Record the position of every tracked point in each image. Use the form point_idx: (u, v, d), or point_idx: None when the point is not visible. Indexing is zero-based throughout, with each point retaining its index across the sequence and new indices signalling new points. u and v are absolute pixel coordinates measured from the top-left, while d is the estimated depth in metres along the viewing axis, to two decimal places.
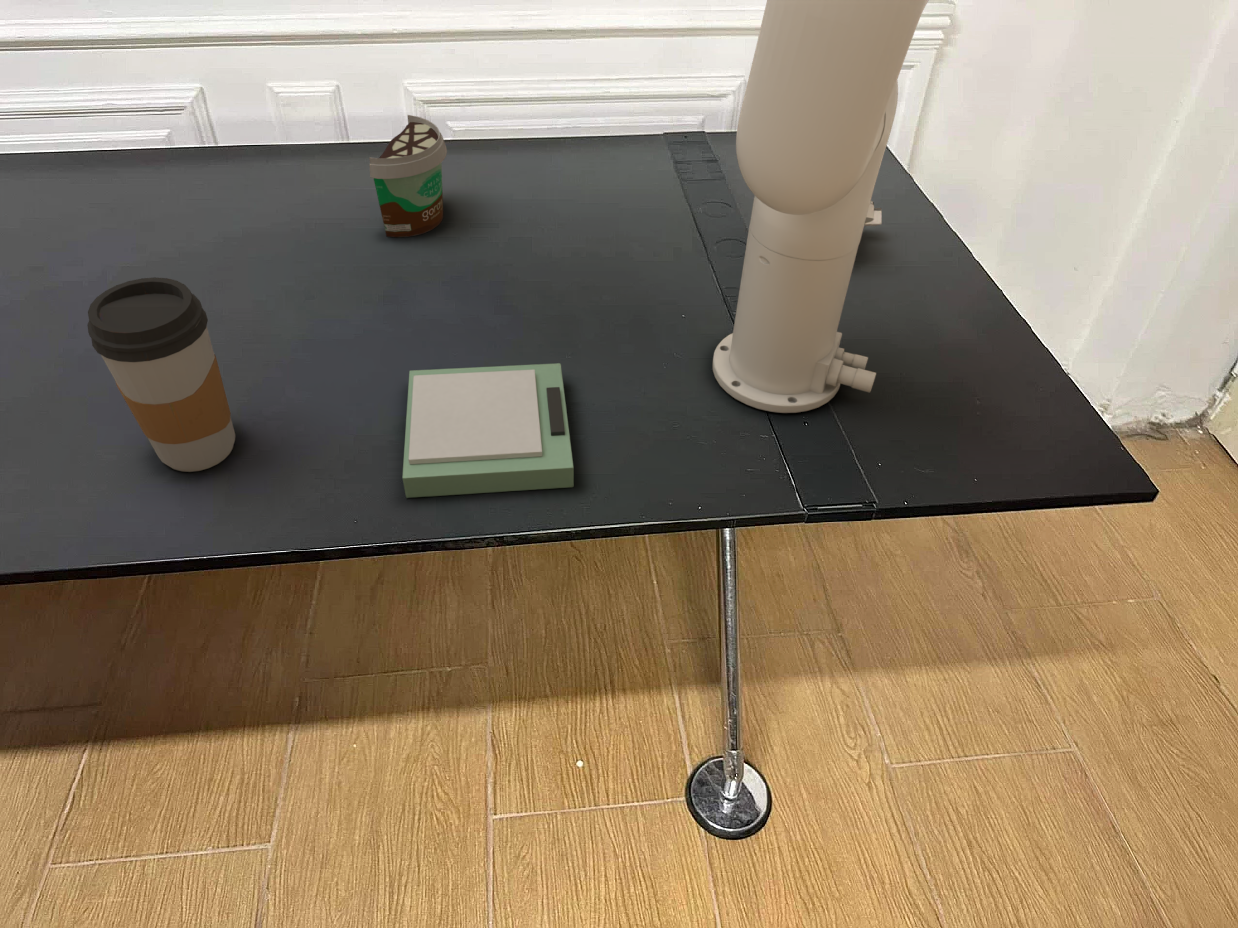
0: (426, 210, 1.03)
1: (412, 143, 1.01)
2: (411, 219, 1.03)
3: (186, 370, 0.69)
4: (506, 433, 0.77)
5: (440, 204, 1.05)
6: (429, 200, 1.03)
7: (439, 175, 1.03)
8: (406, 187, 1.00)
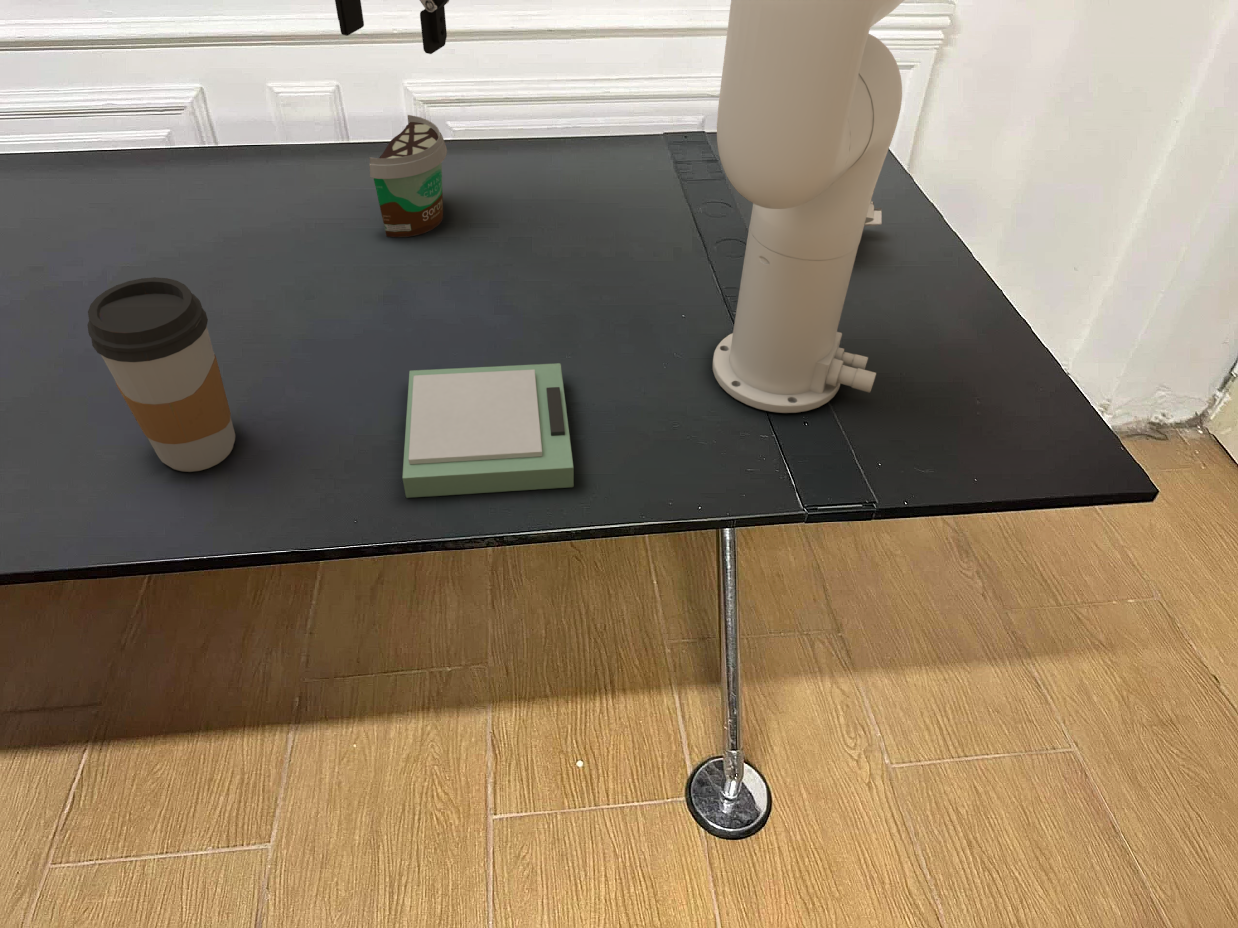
0: (426, 210, 1.03)
1: (413, 143, 1.01)
2: (411, 219, 1.03)
3: (186, 370, 0.69)
4: (506, 433, 0.77)
5: (440, 204, 1.05)
6: (429, 200, 1.03)
7: (439, 175, 1.03)
8: (407, 187, 1.00)
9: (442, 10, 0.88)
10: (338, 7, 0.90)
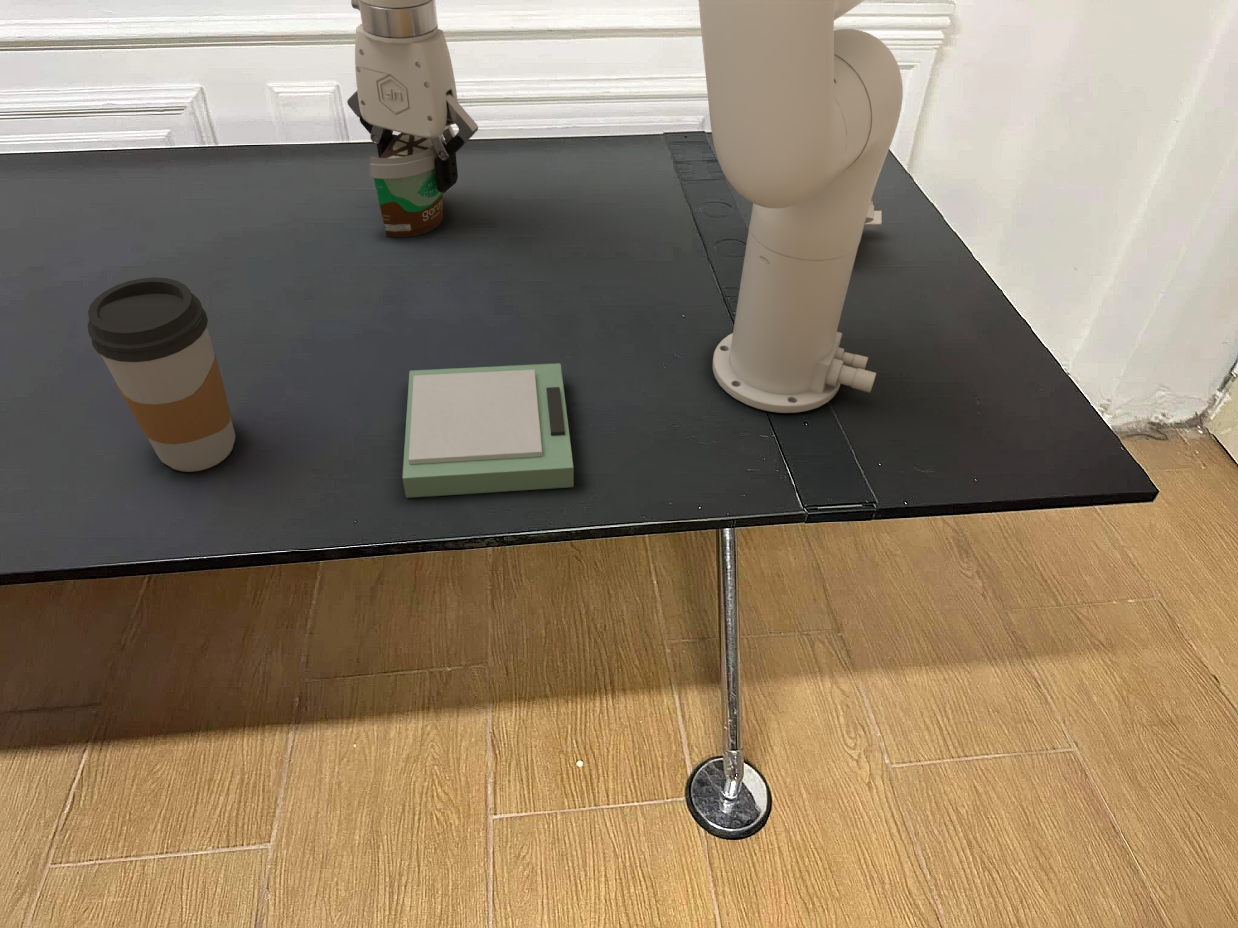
0: (426, 210, 1.03)
1: (413, 143, 1.01)
2: (411, 219, 1.03)
3: (186, 370, 0.69)
4: (506, 433, 0.77)
5: (440, 204, 1.05)
6: (429, 200, 1.03)
7: None
8: (407, 187, 1.00)
9: (454, 156, 1.00)
10: None
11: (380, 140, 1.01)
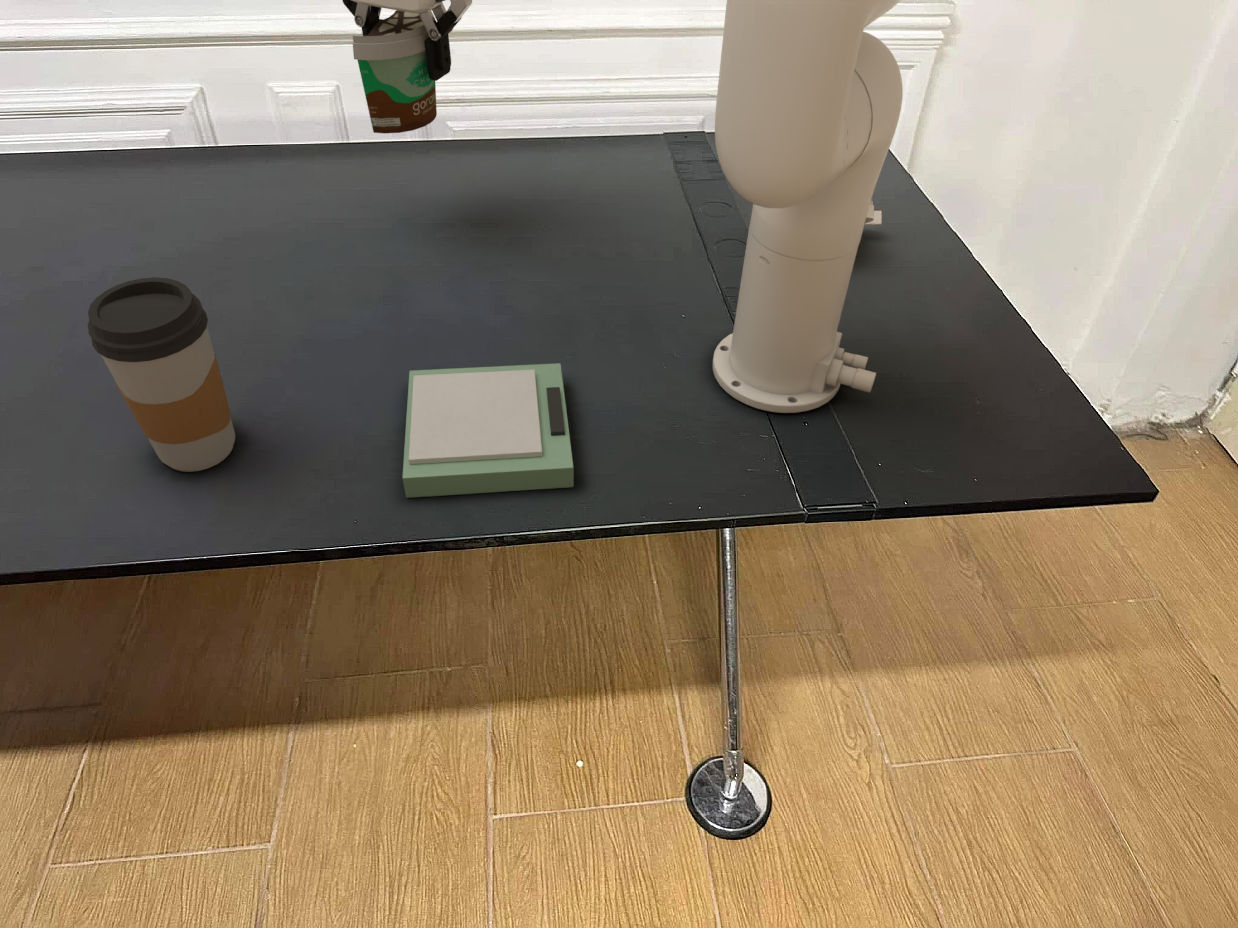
0: (417, 102, 0.93)
1: (401, 26, 0.91)
2: (400, 112, 0.93)
3: (186, 370, 0.69)
4: (506, 433, 0.77)
5: (433, 98, 0.96)
6: (420, 91, 0.93)
7: None
8: (394, 72, 0.90)
9: (446, 38, 0.90)
10: None
11: (365, 23, 0.91)
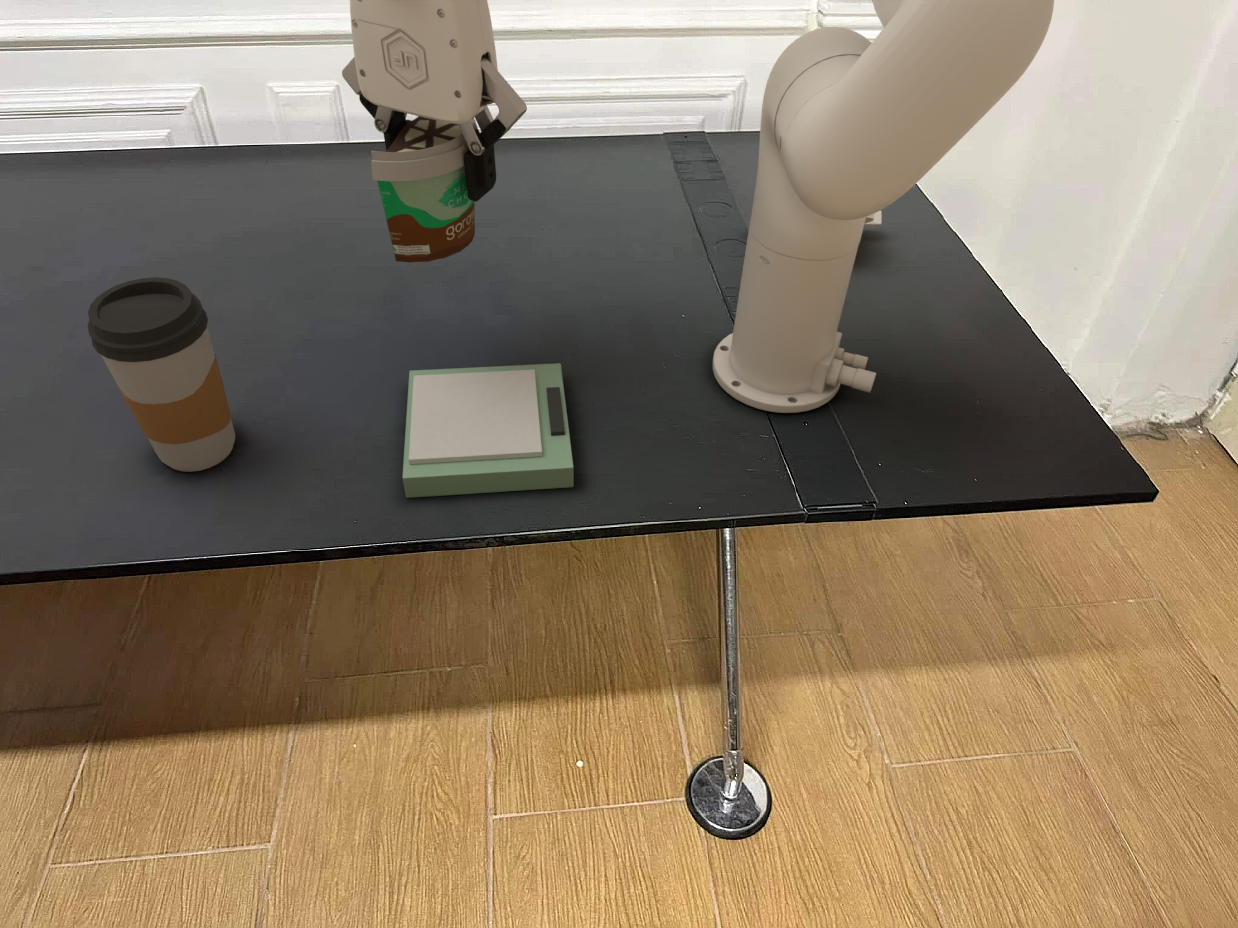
0: (451, 225, 0.74)
1: (434, 131, 0.72)
2: (430, 238, 0.73)
3: (186, 370, 0.69)
4: (506, 433, 0.77)
5: (471, 217, 0.76)
6: (455, 212, 0.73)
7: None
8: (424, 193, 0.70)
9: (491, 150, 0.70)
10: None
11: (388, 127, 0.71)
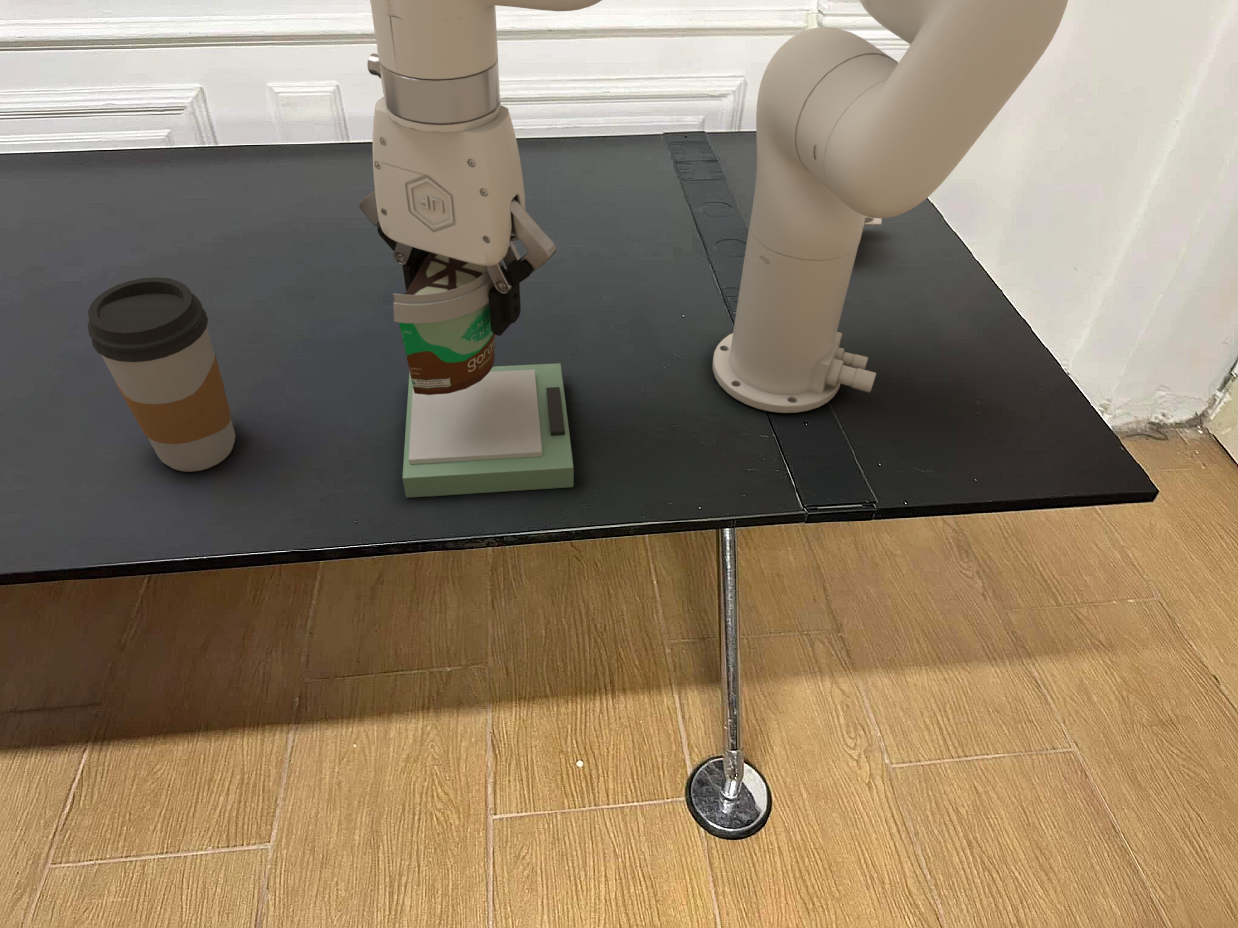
0: (473, 357, 0.71)
1: (456, 263, 0.69)
2: (451, 372, 0.70)
3: (186, 370, 0.69)
4: (506, 433, 0.77)
5: (492, 345, 0.73)
6: (477, 344, 0.70)
7: None
8: (447, 331, 0.67)
9: (516, 285, 0.68)
10: (408, 282, 0.69)
11: (408, 260, 0.68)
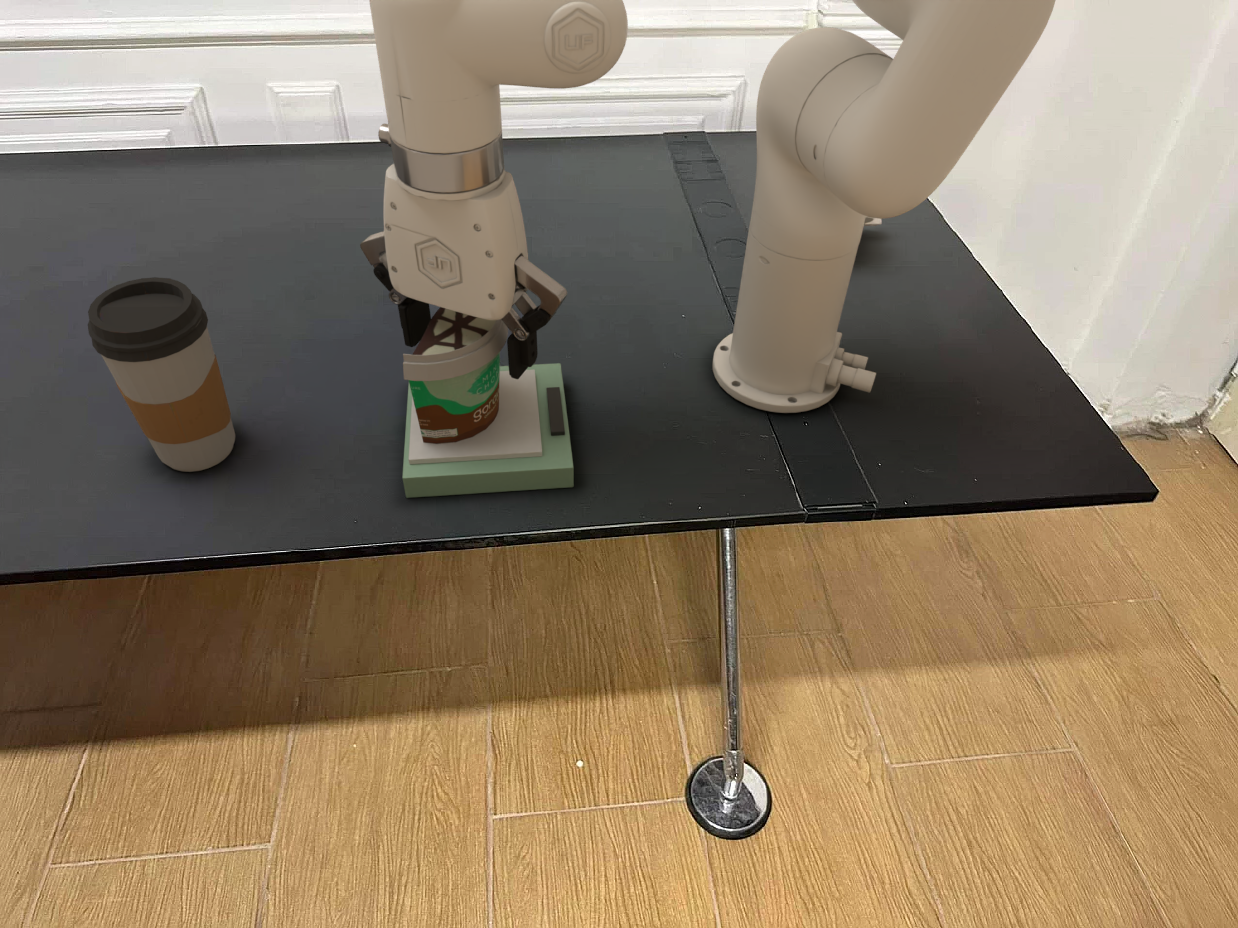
0: (479, 408, 0.75)
1: (461, 321, 0.72)
2: (458, 423, 0.74)
3: (186, 370, 0.69)
4: (506, 433, 0.77)
5: (497, 395, 0.77)
6: (483, 396, 0.74)
7: (497, 361, 0.74)
8: (454, 386, 0.71)
9: (534, 331, 0.70)
10: (403, 320, 0.72)
11: None
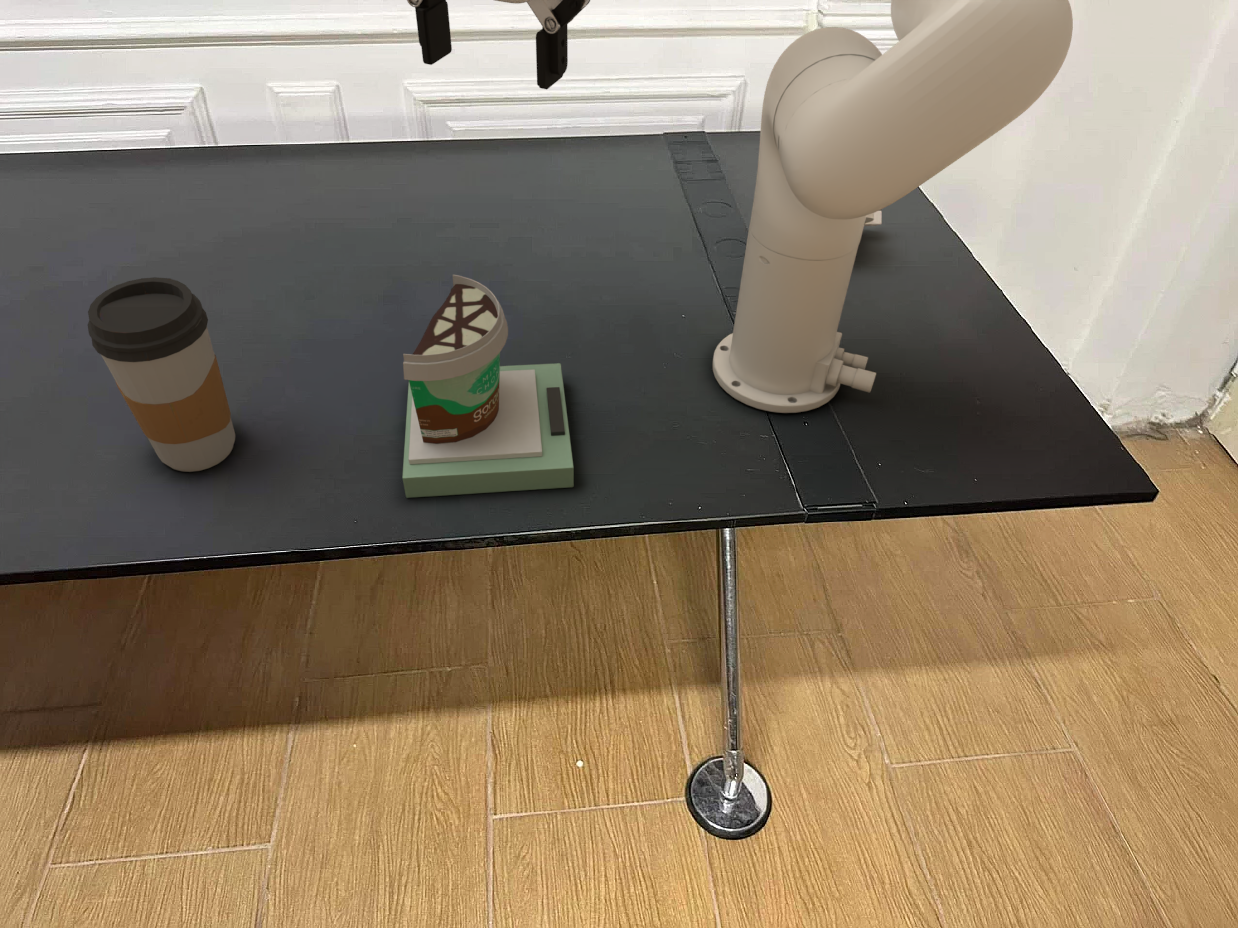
0: (479, 408, 0.75)
1: (462, 321, 0.72)
2: (458, 423, 0.74)
3: (186, 370, 0.69)
4: (506, 433, 0.77)
5: (497, 395, 0.77)
6: (483, 396, 0.74)
7: (497, 361, 0.74)
8: (454, 386, 0.71)
9: (565, 30, 0.64)
10: (421, 27, 0.67)
11: (421, 1, 0.66)
